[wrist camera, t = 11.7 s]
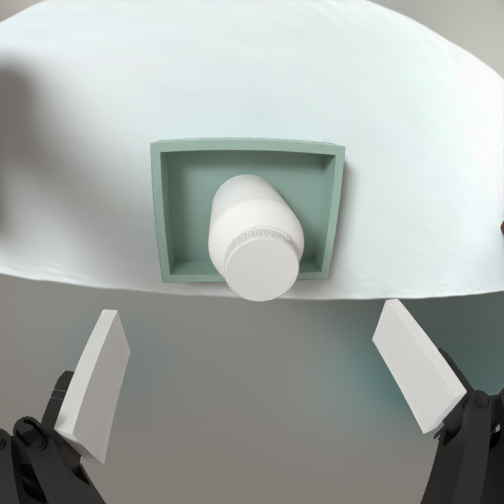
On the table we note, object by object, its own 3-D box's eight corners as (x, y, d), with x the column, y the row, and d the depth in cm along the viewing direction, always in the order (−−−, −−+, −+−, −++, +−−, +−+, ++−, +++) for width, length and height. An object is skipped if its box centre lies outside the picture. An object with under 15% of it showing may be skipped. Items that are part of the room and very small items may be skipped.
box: (168, 264, 36) (162, 282, 32) (160, 140, 29) (150, 143, 25) (317, 261, 38) (327, 278, 34) (330, 143, 31) (345, 146, 27)
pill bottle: (232, 248, 35) (239, 330, 22) (199, 193, 31) (181, 250, 18) (290, 219, 34) (332, 287, 21) (261, 160, 30) (292, 193, 17)
